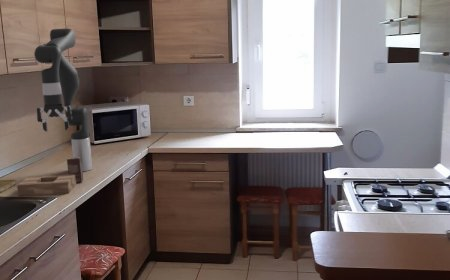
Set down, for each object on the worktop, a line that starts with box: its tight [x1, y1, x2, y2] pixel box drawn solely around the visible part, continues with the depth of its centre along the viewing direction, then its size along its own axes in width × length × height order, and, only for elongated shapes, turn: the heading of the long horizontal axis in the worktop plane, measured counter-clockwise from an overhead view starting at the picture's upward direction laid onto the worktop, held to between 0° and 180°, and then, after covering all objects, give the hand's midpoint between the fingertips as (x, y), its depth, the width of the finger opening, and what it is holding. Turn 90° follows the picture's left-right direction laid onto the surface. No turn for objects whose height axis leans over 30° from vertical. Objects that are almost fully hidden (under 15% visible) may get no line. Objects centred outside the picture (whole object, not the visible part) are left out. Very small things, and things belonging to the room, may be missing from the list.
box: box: [66, 156, 84, 184], centre depth 232 cm, size 6×4×12 cm
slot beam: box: [16, 174, 77, 197], centre depth 220 cm, size 14×22×5 cm, turn 94°
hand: (56, 130), depth 209 cm, fingers open, 8 cm apart
